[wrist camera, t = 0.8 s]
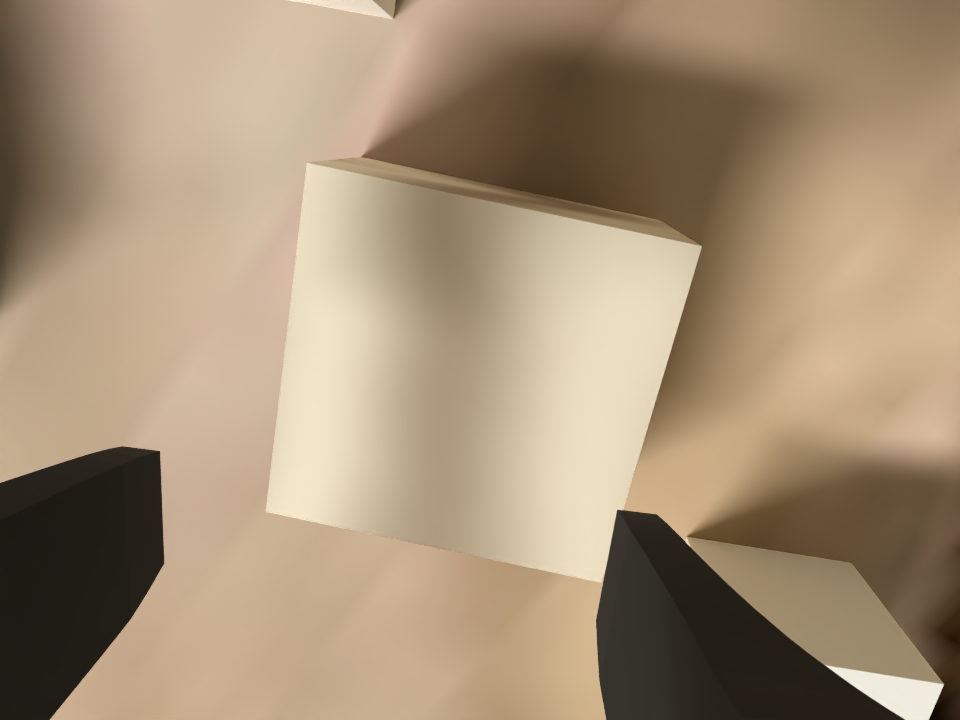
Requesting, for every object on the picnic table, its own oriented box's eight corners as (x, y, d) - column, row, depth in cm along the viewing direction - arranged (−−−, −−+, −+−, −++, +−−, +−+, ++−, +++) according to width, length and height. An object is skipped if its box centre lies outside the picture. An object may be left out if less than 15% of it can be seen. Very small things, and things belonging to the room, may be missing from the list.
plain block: (657, 218, 19) (702, 245, 14) (584, 482, 21) (601, 582, 16) (363, 156, 19) (306, 162, 14) (324, 427, 21) (265, 511, 16)
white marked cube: (850, 561, 21) (947, 689, 16) (803, 692, 23) (879, 845, 18) (685, 535, 21) (733, 654, 16) (650, 667, 23) (684, 813, 18)
